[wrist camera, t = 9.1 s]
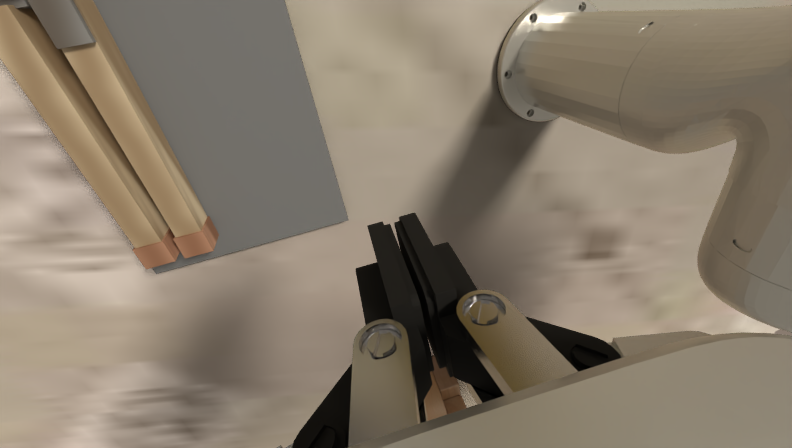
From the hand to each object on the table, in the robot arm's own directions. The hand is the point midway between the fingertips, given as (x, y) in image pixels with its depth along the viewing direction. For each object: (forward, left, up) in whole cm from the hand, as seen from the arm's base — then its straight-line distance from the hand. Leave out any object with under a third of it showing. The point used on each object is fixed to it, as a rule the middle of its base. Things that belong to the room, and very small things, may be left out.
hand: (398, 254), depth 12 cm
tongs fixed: (+19, -3, -27) cm, 33 cm away
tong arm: (+18, -3, -27) cm, 32 cm away
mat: (+13, -2, -28) cm, 31 cm away
